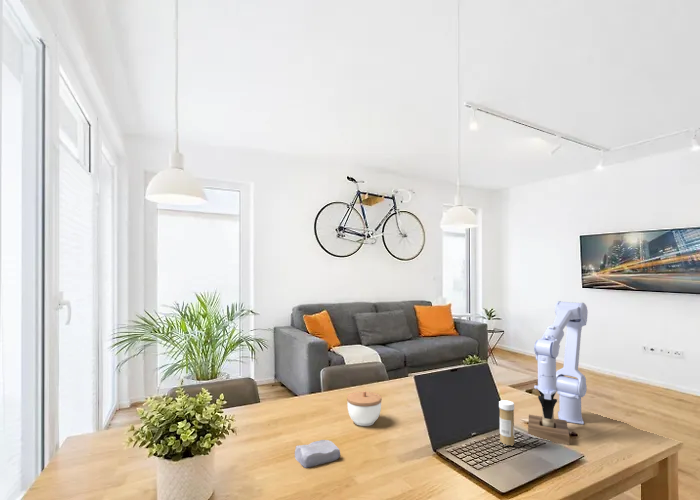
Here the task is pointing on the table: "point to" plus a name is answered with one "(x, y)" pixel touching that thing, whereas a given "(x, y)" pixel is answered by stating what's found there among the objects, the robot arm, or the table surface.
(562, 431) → the socket block
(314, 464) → the stone block
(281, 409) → the table surface
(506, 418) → the sprinkles bottle
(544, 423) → the dowel
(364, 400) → the lidded bowl
